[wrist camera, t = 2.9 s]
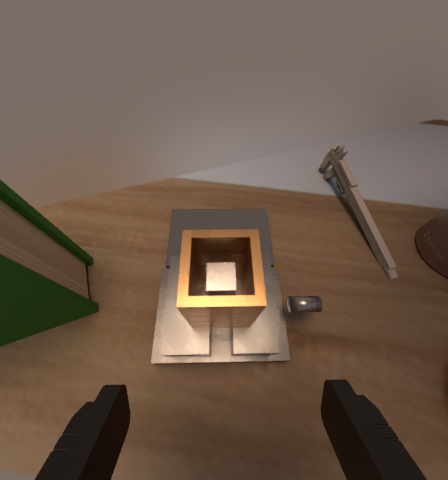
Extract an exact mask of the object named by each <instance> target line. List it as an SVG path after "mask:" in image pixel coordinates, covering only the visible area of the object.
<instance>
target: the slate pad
mask: <svg viewBox="0 0 448 480" xmlns="http://www.w3.org/2000/svg"><path fill="white" fill-rule="evenodd" d="M226 229H258V230H259V239H260V248H261V254H269V255H270V262H271V267H273V266H274V261H273V254H272V247H271V239H270V232H269V225H268V217H267V210H266V209H189V210H172V216H171V225H170V234H169V242H168V251H167V260H166V267H167V268H169V267H170V257H171V255H181V245H182V233H183V230H226Z"/></svg>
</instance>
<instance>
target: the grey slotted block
mask: <svg viewBox="0 0 448 480" xmlns="http://www.w3.org/2000/svg"><path fill="white" fill-rule="evenodd" d="M180 257H181V255H171V257H170V267H169V269H162V277H161V285H160V293H159V301H158V309H157V317H156V326H155V334H154V342H153V350H152V358H151V363H155V364H157V363H205V362H254V361H290V360H291V359H290V352H289V345H288V338H287V331H286V324H285V317H284V310H283V303H282V296H281V290H280V283H279V276H278V269H277V268H271V262H270V255H269V254H261V257H262V266H263V275H264V284H265V293H266V303H267V306H266V308H265V309H264V310H263V311H262V313H261V314H260V315H259V317H258V318H257V319H256V320H255V322H254V323H253V324H252V326H251V327H246V328H191V326H190V325H189V324H188V322H187V321H186V320H185V318H184V317H183V316H182V314H181V313H180V311H179V310H178V309H177V307H176V305H177V293H178V281H179V269H180ZM236 295H241V280H240V279H236V271H235V262H231V263H207V274H206V279H201V286H200V296H236ZM287 307H288V311H289V312H290V313H292V312H321V310H322V301H321V299H320V297H319V296H288V298H287Z"/></svg>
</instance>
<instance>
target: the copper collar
mask: <svg viewBox="0 0 448 480" xmlns="http://www.w3.org/2000/svg"><path fill="white" fill-rule="evenodd" d="M231 262H235V271H236V279H240V280H241V295H236V296H200V286H201V279H206V274H207V263H231ZM266 306H267V303H266V293H265V284H264V275H263V266H262V257H261V248H260V239H259V230H258V229H226V230H183V233H182V245H181V257H180V269H179V281H178V293H177V305H176V307H177V309H178V310H179V311H180V313H181V314H182V316H183V317H184V318H185V320H186V321H187V322H188V324H189V325H190V326H191V328H246V327H251V326H252V324H253V323H254V322H255V320H256V319H257V318H258V317H259V315H260V314H261V313H262V311H263V310H264V309H265V308H266Z"/></svg>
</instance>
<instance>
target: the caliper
mask: <svg viewBox="0 0 448 480" xmlns="http://www.w3.org/2000/svg"><path fill="white" fill-rule="evenodd" d="M344 146H345V145H340V146H338V147H335V148H332V149H331V150H330V151H329V153H328V154H327V155H326V156H325V158H324V160H323V162H322V164H321V166H320V168H319V171H320V172H323V171H325V170H326V169H327V168H328V167H329V166H330V165H332V169H330V170H329V171H328V172H327V174H326V175H325V176H324V177H323V178H324V180H326V179H331V178H333V177H335V178H336V183H337V186H338V188H339V189H340V193H341V195H342V194H345V195H346V197H347V199H348V201H349V203H350V205H351V207H352V209H353V211H354V213H355V215H356V217H357V219H358V221H359V223H360V225H361V228H362V230H363V232H364V234H365V236H366V238H367V240H368V242H369V244H370V246H371V249H372V251H373V253H374V255H375V257H376V259H377V261H378V262H379V264H380V265H381V267H382V268H383V270H384V271H386V273H387V275H388V277H389V279H390V280H393V279H396V278H398V277H397V276H398V275H397V273H396V271H395V269H394V268H396V267H397V266H396V264H395V262H394V260H393V258H392V256H391V254H390V252H389V250H388V248H387V246H386V244H385V242H384V240H383V238H382V236H381V234H380V232H379V230H378V228H377V227H376V225H375V223H374V221H373V219H372V217H371V215H370V213H369V211H368V209H367V207H366V205H365V203H364V201H363V199H362V197H361V195H360V193H359V191H358V189H357V187H356V186H357V185H358V184H357V182H356V180H355V178H354V176H353V174H352V172H351V170H350V168H349V166H348V164H347V162H346V160H345V159H344V160H343V157H344V156H345V155H346V154H347V153H348V151H347V152H343V149H344Z"/></svg>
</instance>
